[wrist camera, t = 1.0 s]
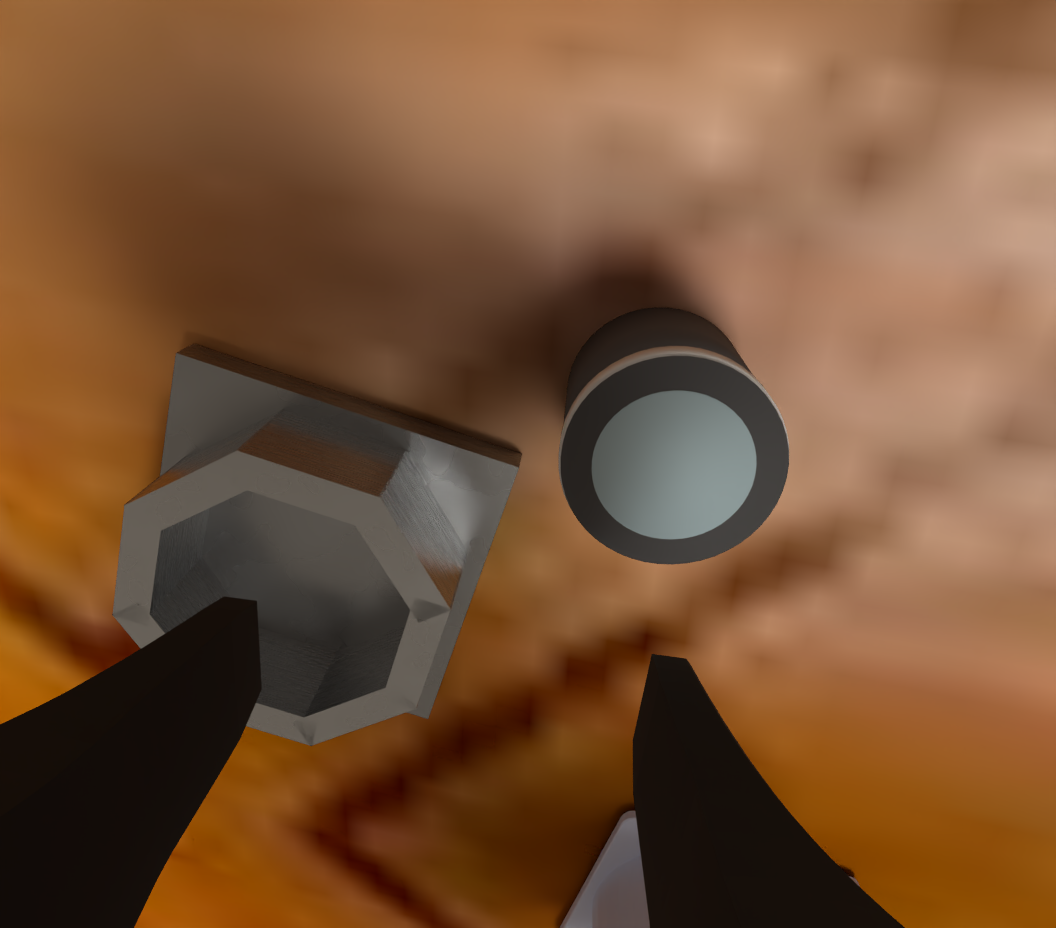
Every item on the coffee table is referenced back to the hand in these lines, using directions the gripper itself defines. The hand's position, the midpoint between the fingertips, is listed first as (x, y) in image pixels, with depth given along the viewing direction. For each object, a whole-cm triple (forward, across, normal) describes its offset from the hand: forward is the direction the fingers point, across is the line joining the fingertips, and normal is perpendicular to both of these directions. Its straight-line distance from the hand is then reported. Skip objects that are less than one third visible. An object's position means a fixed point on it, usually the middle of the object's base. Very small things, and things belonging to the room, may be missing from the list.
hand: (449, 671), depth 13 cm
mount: (+10, +6, +4) cm, 12 cm away
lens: (+10, -4, -3) cm, 11 cm away
